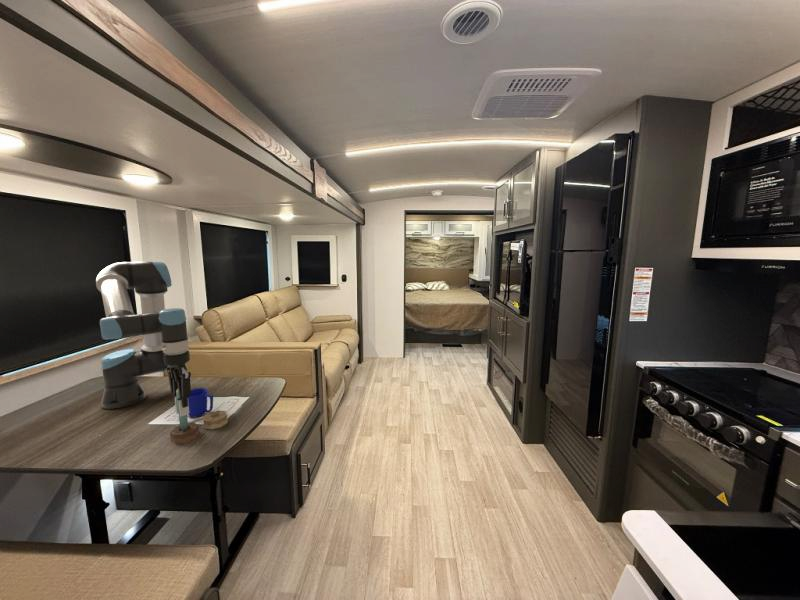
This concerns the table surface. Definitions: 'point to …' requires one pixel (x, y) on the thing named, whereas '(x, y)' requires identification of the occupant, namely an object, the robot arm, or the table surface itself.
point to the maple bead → (215, 419)
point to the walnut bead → (184, 433)
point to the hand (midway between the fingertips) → (182, 413)
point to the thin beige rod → (196, 419)
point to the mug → (199, 402)
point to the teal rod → (183, 419)
